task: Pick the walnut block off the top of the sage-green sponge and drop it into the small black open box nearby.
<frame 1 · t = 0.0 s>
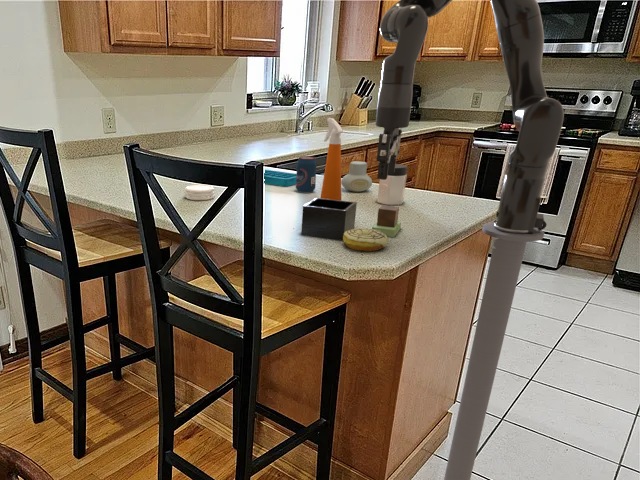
hand: (385, 176, 127), 17 cm above the breakfast bar, tool pointing down, fingers open, 8 cm apart
soda can: (305, 191, 190), on the breakfast bar
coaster: (199, 198, 180), on the breakfast bar
block: (387, 224, 143), point 2 cm above the breakfast bar, touching sponge
spray bottle: (327, 201, 176), on the breakfast bar
sponge: (386, 231, 143), on the breakfast bar, touching block
decorated donut: (364, 247, 131), on the breakfast bar
jar: (390, 202, 175), on the breakfast bar
black open box: (328, 232, 142), on the breakfast bar
ice cube tray: (273, 182, 205), on the breakfast bar
air freshener: (355, 190, 191), on the breakfast bar
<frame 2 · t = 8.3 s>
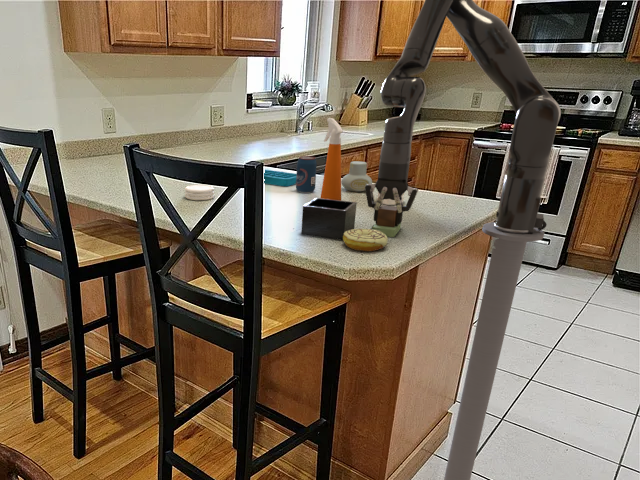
hand: (387, 223, 143), 2 cm above the breakfast bar, tool pointing down, fingers closed on block, 4 cm apart
block: (387, 224, 143), point 2 cm above the breakfast bar, touching gripper, sponge
everything else where it was.
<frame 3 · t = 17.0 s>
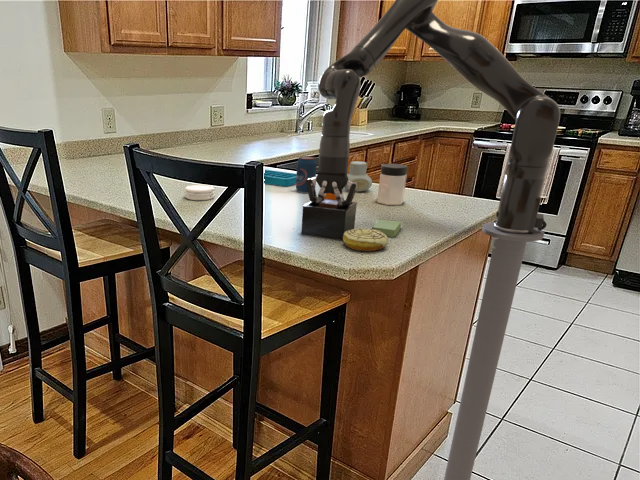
hand: (329, 218, 141), 4 cm above the breakfast bar, tool pointing down, fingers closed on block, 4 cm apart
block: (329, 219, 141), point 4 cm above the breakfast bar, touching gripper
sponge: (386, 231, 143), on the breakfast bar
everything else where it was.
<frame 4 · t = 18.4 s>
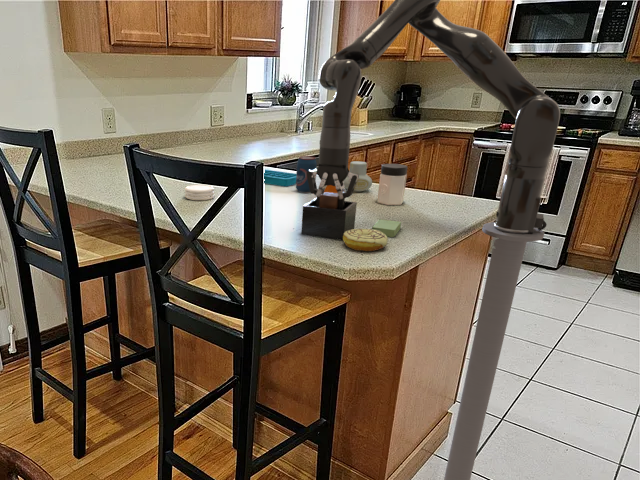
hand: (329, 210, 140), 6 cm above the breakfast bar, tool pointing down, fingers closed on block, 4 cm apart
block: (329, 211, 140), point 6 cm above the breakfast bar, touching gripper
everything else where it was.
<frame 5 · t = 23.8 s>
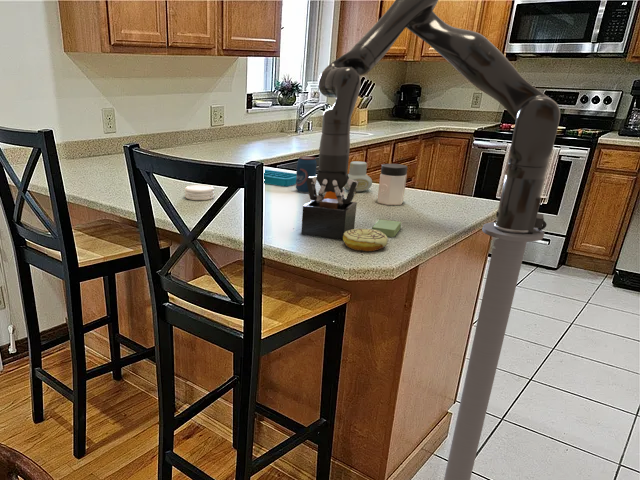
hand: (329, 217, 141), 4 cm above the breakfast bar, tool pointing down, fingers closed on block, 4 cm apart
block: (329, 217, 141), point 4 cm above the breakfast bar, touching gripper
everything else where it was.
when the fingers open (7 cm above the breakfast bar, at t = 28.9 s): block drops 6 cm, resting on black open box.
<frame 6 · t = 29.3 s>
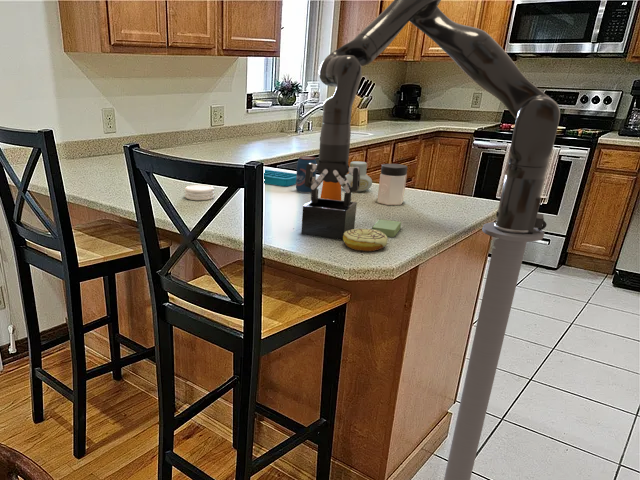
hand: (330, 204, 139), 8 cm above the breakfast bar, tool pointing down, fingers open, 8 cm apart
block: (328, 229, 142), point 1 cm above the breakfast bar, touching black open box
everything else where it was.
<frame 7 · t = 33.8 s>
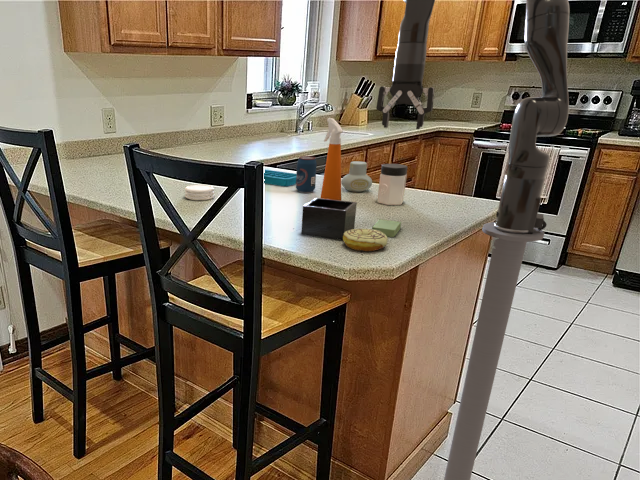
hand: (401, 128, 141), 26 cm above the breakfast bar, tool pointing down, fingers open, 8 cm apart
nothing on the breakfast bar moved.
at the end: block inside the target area in the black open box (0.1 cm from its centre), point 0.8 cm above the black open box's base; the gripper is holding nothing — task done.
